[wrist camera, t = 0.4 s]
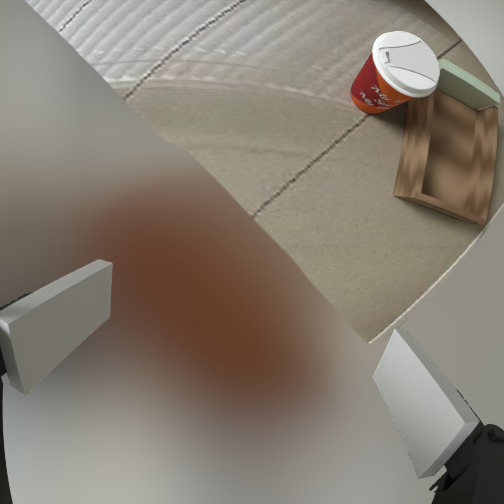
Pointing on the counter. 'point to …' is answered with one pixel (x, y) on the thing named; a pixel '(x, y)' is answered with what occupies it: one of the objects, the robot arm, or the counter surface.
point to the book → (465, 87)
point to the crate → (448, 157)
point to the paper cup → (395, 73)
